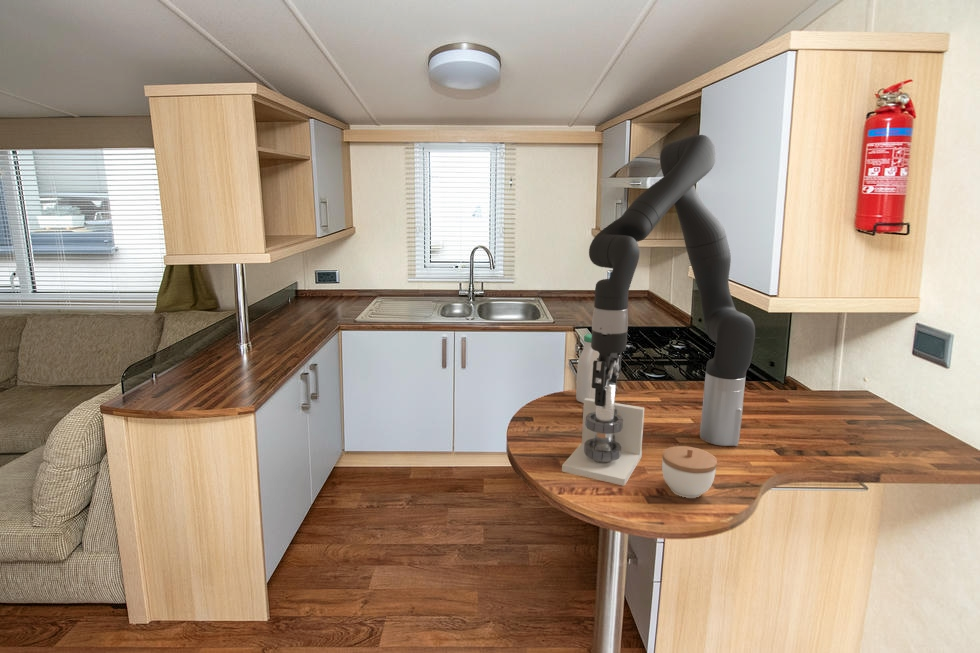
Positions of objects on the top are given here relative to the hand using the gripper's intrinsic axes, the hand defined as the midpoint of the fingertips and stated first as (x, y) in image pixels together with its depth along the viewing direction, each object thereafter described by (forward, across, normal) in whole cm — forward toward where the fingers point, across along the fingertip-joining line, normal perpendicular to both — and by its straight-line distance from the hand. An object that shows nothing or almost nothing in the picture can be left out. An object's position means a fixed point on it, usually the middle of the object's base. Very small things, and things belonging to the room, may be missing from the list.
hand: (605, 399), depth 130 cm
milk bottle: (+16, -41, -16) cm, 47 cm away
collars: (+13, -1, 0) cm, 13 cm away
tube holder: (+16, 0, 0) cm, 16 cm away
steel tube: (+14, 0, 0) cm, 14 cm away
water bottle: (+16, -29, -9) cm, 34 cm away
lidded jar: (+16, +3, +19) cm, 25 cm away
